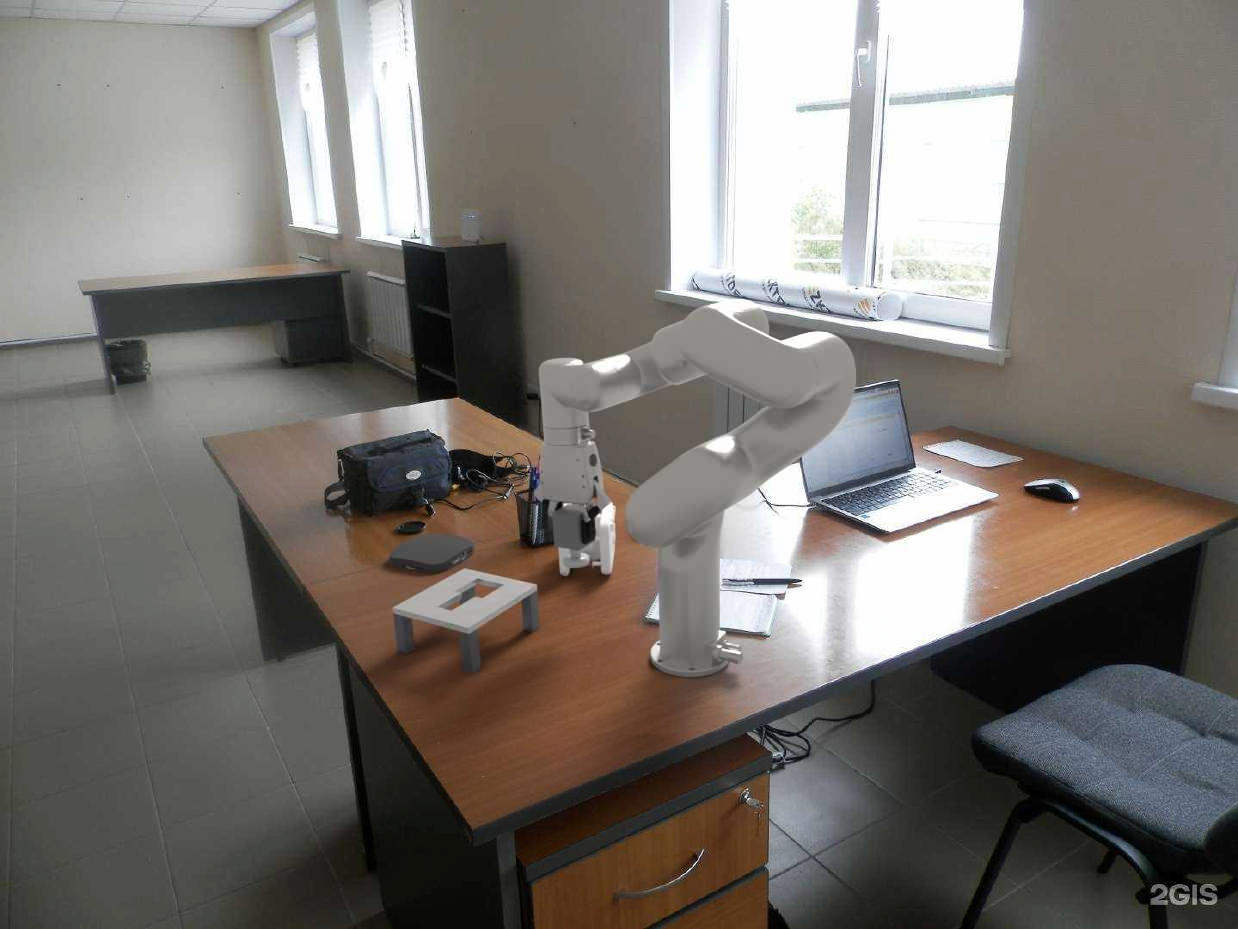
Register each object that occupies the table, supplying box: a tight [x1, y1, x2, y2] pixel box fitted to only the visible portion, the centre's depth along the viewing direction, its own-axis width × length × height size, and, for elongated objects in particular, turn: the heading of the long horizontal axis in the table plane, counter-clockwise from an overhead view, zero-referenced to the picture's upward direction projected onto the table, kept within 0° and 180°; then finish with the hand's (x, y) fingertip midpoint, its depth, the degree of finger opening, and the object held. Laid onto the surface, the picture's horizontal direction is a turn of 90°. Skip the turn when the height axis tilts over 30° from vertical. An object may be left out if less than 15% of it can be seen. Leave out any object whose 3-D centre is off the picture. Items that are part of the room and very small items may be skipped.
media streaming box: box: [389, 533, 475, 574], centre depth 187 cm, size 15×15×3 cm
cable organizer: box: [557, 501, 617, 577], centre depth 179 cm, size 15×11×12 cm
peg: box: [551, 503, 595, 569], centre depth 151 cm, size 5×5×10 cm
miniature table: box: [392, 568, 541, 675], centre depth 151 cm, size 16×18×8 cm
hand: (574, 538), depth 151 cm, fingers closed on peg, 5 cm apart
